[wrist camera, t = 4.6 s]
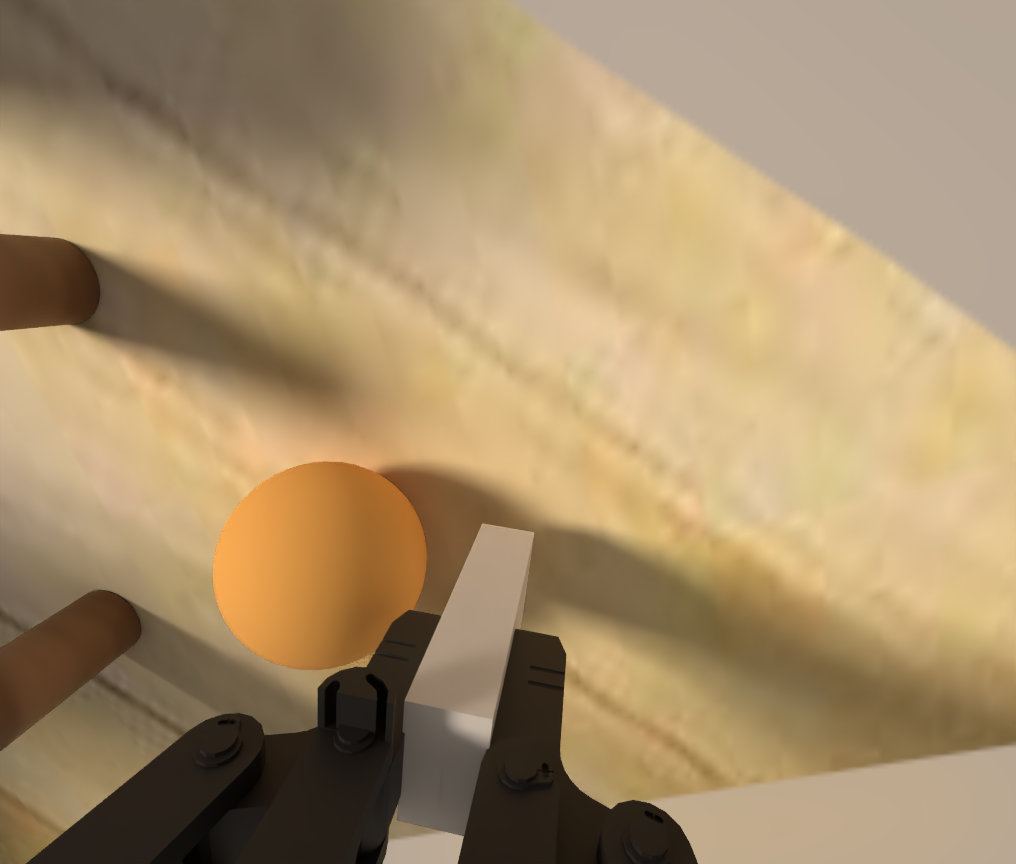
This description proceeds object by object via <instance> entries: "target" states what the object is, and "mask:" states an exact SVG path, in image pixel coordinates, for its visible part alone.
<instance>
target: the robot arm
mask: <svg viewBox="0 0 1016 864" xmlns="http://www.w3.org/2000/svg"><path fill="white" fill-rule="evenodd" d="M533 539H534V532H530V531H524V530H518V529H512V528H507V527H501V526H495V525H489V524H483V523H482V525H481V528H480V530H479V532H478V534H477V537H476V539H475V541H474V543H473V546H472V548H471V550H470V553H469V555H468V557H467V559H466V562H465V564H464V566H463V569H462V571H461V573H460V575H459V578H458V580H457V582H456V584H455V587H454V589H453V591H452V594H451V596H450V598H449V600H448V603H447V605H446V607H445V609H444V612H443V614H442V616H439V615H434V614H429V613H424V612H419V611H413V610H408V611H406V612H405V613H404V614H402V615H401V616H400V617H398V618H397V619H396V620H394V621H393V622H392V624H391V625H390V627H389V629H388V630H387V632H386V634H385V636H384V637H383V641H381V643H380V644H379V646H378V648H377V650H376V653H375V655H373V657H372V658H371V660H370V662H369V664H368V665H367V667H354V668H349V669H345V670H341V671H339V672H337V673H335V674H334V675H332V676H330V677H328V678H327V679H326V680H325V681H324V682H323V683H322V684H321V685H320V686H319V687H318V727H316V728H314V729H311V730H308V731H303V732H297V733H288V734H276V735H264V733H263V729H262V725H261V724H260V723H259V722H258V721H257V720H256V719H254V718H253V717H251V716H248V715H244V714H240V713H235V714H222V715H220V716H217V717H214V718H211V719H208V720H205V721H204V722H202V723H200V724H199V725H197V726H196V727H194V728H192V729H191V730H189V731H188V732H187V733H186V734H185V735H183V736H182V737H181V738H180V739H178V740H177V741H176V742H175V743H173V744H172V745H171V746H170V747H169V748H167V749H166V750H165V751H164V752H162V753H161V754H160V755H159V756H157V757H156V758H155V759H154V760H153V761H151V762H150V763H149V764H148V765H146V766H145V767H144V768H143V769H142V770H140V771H139V772H138V773H137V774H135V775H134V776H133V777H132V778H130V779H129V780H128V781H127V782H126V783H124V784H123V785H122V786H121V787H119V788H118V789H117V790H116V791H115V792H113V793H112V794H111V795H110V796H108V797H107V798H106V799H105V800H103V801H102V802H101V803H100V804H99V805H97V806H96V807H95V808H94V809H92V810H91V811H90V812H89V813H88V814H86V815H85V816H84V817H83V818H81V819H80V820H79V821H78V822H76V823H75V824H74V825H73V826H72V827H70V828H69V829H68V830H67V831H65V832H64V833H63V834H62V835H60V836H59V837H58V838H57V839H56V840H54V841H53V842H52V843H51V844H49V845H48V846H47V847H46V848H45V849H43V850H42V851H41V852H40V853H38V854H37V855H36V856H35V857H33V858H32V859H31V860H30V861H29V862H27V863H26V864H382V863H383V860H384V858H385V855H386V849H387V844H388V834H389V826H390V823H391V821H392V818H393V815H394V812H395V810H396V807H397V804H398V813H397V820H399V821H403V822H407V823H411V824H416V825H420V826H424V827H428V828H432V829H436V830H441V831H445V832H449V833H453V834H458V835H462V836H464V839H463V843H462V848H461V852H460V856H459V861H458V864H698V863H697V860H696V858H695V855H694V852H693V850H692V848H691V845H690V843H689V841H688V839H687V837H686V836H685V834H684V832H683V831H682V829H681V827H680V826H679V825H678V824H677V823H676V822H675V821H674V820H673V819H672V818H671V817H670V816H669V815H668V814H667V813H666V812H665V811H663V810H661V809H659V808H657V807H656V806H654V805H652V804H650V803H646V802H641V801H636V800H631V801H626V802H622V803H618V804H617V805H616V806H615V807H613V808H612V809H610V808H608V807H606V806H604V805H603V804H601V803H599V802H597V801H596V800H594V799H592V798H590V797H589V796H588V795H586V794H585V793H583V792H582V791H581V790H579V789H578V787H577V786H576V785H575V784H574V783H573V782H572V781H571V780H570V778H569V777H568V775H567V773H566V772H565V770H564V767H563V764H562V762H561V757H560V740H561V725H562V711H563V696H564V681H565V666H566V653H565V650H564V648H563V646H562V644H561V642H560V640H559V637H556V636H551V635H546V634H541V633H536V632H530V631H525V630H520V627H521V622H522V617H523V612H524V604H525V597H526V590H527V583H528V576H529V568H530V561H531V554H532V547H533Z"/></svg>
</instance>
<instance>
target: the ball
mask: <svg viewBox="0 0 1016 864" xmlns="http://www.w3.org/2000/svg"><path fill="white" fill-rule="evenodd" d="M426 566H427V549H426V541H425V535H424V532H423V528H422V525H421V522H420V520H419V518H418V516H417V514H416V512H415V510H414V508H413V507H412V505H411V504H410V502H409V501H408V499H407V498H406V497H405V496H404V495H403V494H402V493H401V492H400V491H399V490H398V488H397V487H396V486H395V485H393V484H392V483H391V482H389V481H388V480H387V479H385V478H384V477H382V476H381V475H379V474H377V473H375V472H373V471H371V470H368V469H366V468H363V467H360V466H357V465H354V464H348V463H343V462H314V463H308V464H303V465H299V466H296V467H293V468H290V469H287V470H285V471H283V472H281V473H278V474H276V475H274V476H273V477H271V478H269V479H267V480H266V481H264V482H263V483H261V484H260V485H259V486H257V487H256V488H255V489H254V490H253V491H251V492H250V493H249V494H248V495H247V496H246V497H245V498H244V499H243V500H242V501H241V503H240V504H239V505H238V506H237V507H236V508H235V510H234V511H233V513H232V514H231V516H230V517H229V519H228V520H227V522H226V524H225V526H224V528H223V530H222V532H221V535H220V538H219V541H218V544H217V547H216V550H215V556H214V562H213V585H214V592H215V597H216V601H217V604H218V607H219V610H220V612H221V614H222V616H223V618H224V620H225V622H226V623H227V625H228V627H229V628H230V630H231V631H232V633H233V634H234V635H235V636H236V637H237V638H238V639H239V640H240V641H241V642H242V643H243V645H244V646H246V647H247V648H248V649H250V650H251V651H252V652H254V653H255V654H257V655H258V656H260V657H262V658H264V659H266V660H268V661H270V662H272V663H276V664H279V665H282V666H285V667H288V668H294V669H303V670H321V669H329V668H334V667H338V666H342V665H346V664H349V663H352V662H354V661H357V660H359V659H361V658H363V657H365V656H367V655H369V654H370V653H372V652H374V651H375V650H376V649H377V648H378V646H379V644H380V643H381V641H383V637H384V636H385V634H386V632H387V630H388V629H389V627H390V625H391V624H392V622H393V621H394V620H396V619H397V618H398V617H400V616H401V615H402V614H404V613H405V612H406V611H408V610H413V609H414V607H415V605H416V603H417V601H418V598H419V596H420V593H421V591H422V588H423V584H424V580H425V574H426Z"/></svg>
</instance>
